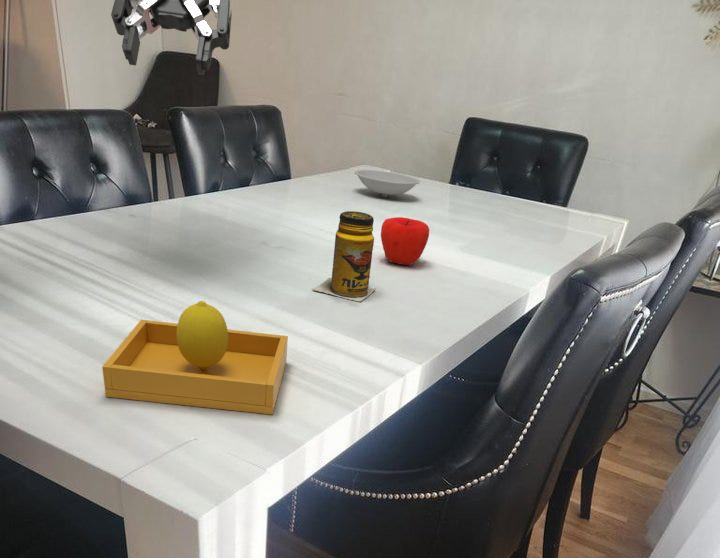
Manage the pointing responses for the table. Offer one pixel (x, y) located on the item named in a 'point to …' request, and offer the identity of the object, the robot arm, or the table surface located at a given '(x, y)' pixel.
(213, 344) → the lemon
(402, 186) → the dish
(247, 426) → the table surface
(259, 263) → the table surface
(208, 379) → the yellow tray
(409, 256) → the apple
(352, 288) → the condiment
